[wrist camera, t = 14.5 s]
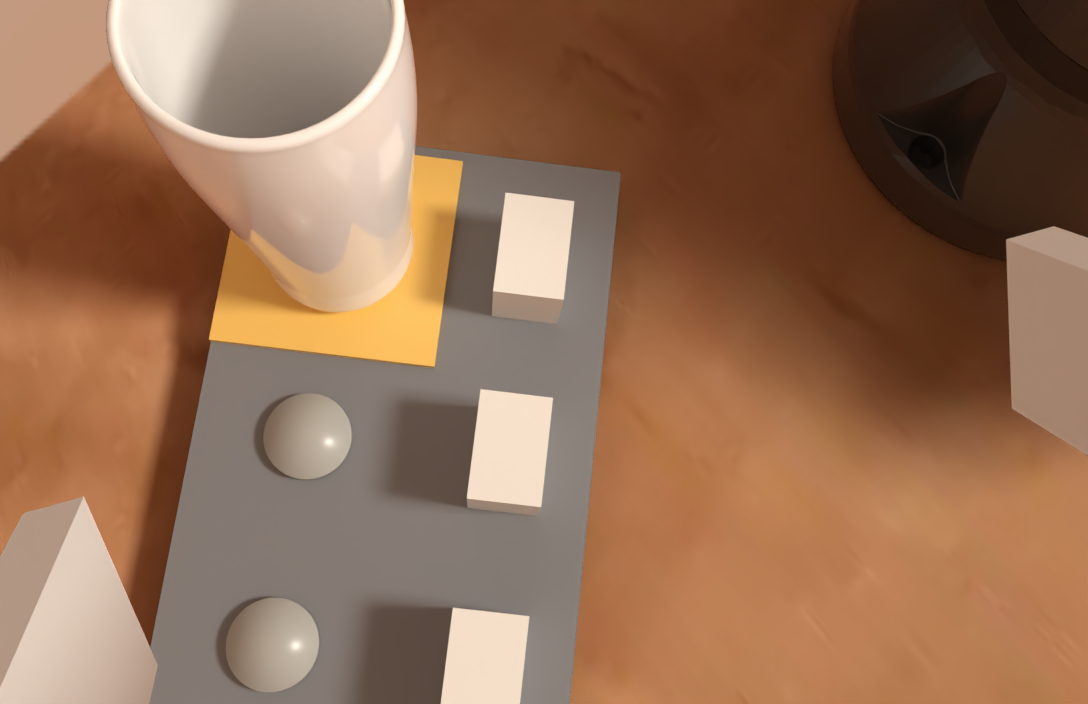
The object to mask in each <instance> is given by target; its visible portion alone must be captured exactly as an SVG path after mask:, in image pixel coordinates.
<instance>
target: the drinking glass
mask: <svg viewBox="0 0 1088 704" xmlns="http://www.w3.org/2000/svg"><path fill="white" fill-rule="evenodd" d="M106 32H107V43H108V47H109V52H110V56H111V59H112V62H113V65H114V68H115V70H116V73H117V75H118V77H119V79H120V81H121V83H122V84H123V86H124V88H125V89H126V91H127V93H128V95H129V97H130V99H131V101H132V102H133V104H134V106H135V108H136V110H137V111H138V113H139V115H140V117H141V118H142V120H143V122H144V123H145V125H146V127H147V128H148V130H149V131H150V133H151V135H152V136H153V138H154V139H155V141H156V143H157V144H158V146H159V147H160V149H161V150H162V151H163V153H164V154H165V156H166V157H167V158H168V160H169V161H170V162H171V164H172V165H173V166H174V168H175V169H176V170H177V171H178V173H179V174H180V175H181V177H182V178H183V179H184V180H185V181H186V183H187V184H188V185H189V186H190V187H191V188H192V189H193V190H194V192H195V193H196V194H197V195H198V196H199V197H200V198H201V199H202V200H203V201H204V202H205V203H206V204H207V205H208V206H209V208H210V209H211V210H212V211H213V212H214V213H215V214H216V215H217V216H218V217H219V218H220V219H221V220H222V221H223V222H224V223H225V224H226V225H227V226H228V227H229V228H230V229H231V230H232V231H233V232H234V233H235V234H236V236H237V237H238V238H239V239H240V240H241V241H242V242H243V243H244V244H245V245H246V246H247V247H248V248H249V249H250V250H251V251H252V252H253V254H254V255H255V256H256V257H257V258H258V259H259V260H260V261H261V262H262V263H263V264H264V266H265V267H266V268H267V269H268V271H269V272H270V274H271V276H272V277H273V279H274V280H275V282H276V283H277V284H278V285H279V287H280V288H281V289H282V290H283V291H284V292H285V293H287V294H288V295H289V296H290V297H291V298H293V299H294V300H296V301H298V302H299V303H301V304H303V305H305V306H307V307H310V308H313V309H316V310H320V311H325V312H338V313H339V312H350V311H355V310H359V309H362V308H365V307H368V306H370V305H372V304H374V303H376V302H378V301H379V300H381V299H382V298H384V297H385V296H387V295H388V294H389V293H390V292H391V291H392V290H393V289H394V288H395V287H396V286H397V285H398V283H399V282H400V281H401V279H402V278H403V276H404V275H405V273H406V271H407V269H408V267H409V264H410V261H411V258H412V254H413V248H414V231H413V224H412V199H413V180H414V164H415V149H416V132H417V84H416V71H415V62H414V54H413V48H412V42H411V36H410V30H409V25H408V20H407V15H406V11H405V6H404V1H403V0H109V1H108V7H107V15H106Z"/></svg>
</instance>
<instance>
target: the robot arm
mask: <svg viewBox="0 0 1088 704" xmlns="http://www.w3.org/2000/svg"><path fill="white" fill-rule="evenodd" d="M833 85H834V94H835V101H836V106H837V110H838V114H839V118H840V121H841V124H842V127H843V130H844V132H845V135H846V137H847V140H848V142H849V144H850V146H851V148H852V150H853V152H854V154H855V156H856V157H857V159H858V161H859V162H860V164H861V166H862V167H863V169H864V170H865V172H866V173H867V174H868V176H869V177H870V179H871V180H872V181H873V182H874V184H875V185H876V186H877V187H878V188H879V190H880V191H881V192H882V193H883V194H884V195H885V196H886V197H887V198H888V199H889V200H890V201H891V202H892V203H893V204H894V205H895V206H896V207H897V208H898V209H899V210H901V211H902V212H903V213H904V214H905V215H907V216H908V217H909V218H910V219H912V220H913V221H915V222H916V223H917V224H919V225H920V226H922V227H923V228H925V229H926V230H928V231H929V232H931V233H933V234H934V235H936V236H938V237H940V238H942V239H944V240H946V241H948V242H950V243H952V244H954V245H956V246H959V247H961V248H964V249H966V250H969V251H972V252H975V253H978V254H981V255H985V256H989V257H993V258H997V259H1003V260H1007V283H1008V313H1009V343H1010V372H1011V402H1012V409H1013V410H1015V411H1016V412H1018V413H1020V414H1021V415H1023V416H1024V417H1026V418H1028V419H1029V420H1031V421H1032V422H1034V423H1036V424H1037V425H1039V426H1040V427H1042V428H1044V429H1045V430H1047V431H1048V432H1050V433H1052V434H1053V435H1055V436H1057V437H1058V438H1060V439H1061V440H1063V441H1065V442H1066V443H1068V444H1069V445H1071V446H1073V447H1074V448H1076V449H1077V450H1079V451H1081V452H1082V453H1084V454H1085V455H1087V456H1088V0H853V2H852V3H851V5H850V7H849V9H848V10H847V13H846V15H845V17H844V19H843V22H842V25H841V27H840V30H839V34H838V37H837V41H836V46H835V52H834V61H833ZM157 667H158V664H157V662H156V660H155V658H154V655H153V653H152V651H151V648H150V646H149V644H148V642H147V639H146V637H145V635H144V633H143V630H142V628H141V626H140V623H139V621H138V619H137V617H136V614H135V612H134V610H133V608H132V605H131V603H130V601H129V598H128V596H127V594H126V592H125V589H124V587H123V585H122V582H121V580H120V578H119V576H118V573H117V571H116V569H115V567H114V564H113V562H112V560H111V557H110V555H109V553H108V551H107V548H106V546H105V544H104V541H103V539H102V537H101V535H100V532H99V530H98V528H97V526H96V523H95V521H94V519H93V516H92V514H91V512H90V510H89V507H88V505H87V503H86V501H85V498H84V497H80V498H77V499H73V500H69V501H66V502H62V503H59V504H55V505H52V506H48V507H44V508H41V509H37V510H34V511H30V512H26V513H23V515H22V516H21V518H20V520H19V522H18V524H17V526H16V528H15V530H14V531H13V533H12V535H11V537H10V539H9V541H8V543H7V545H6V546H5V548H4V550H3V552H2V554H1V556H0V704H149V703H150V698H151V694H152V689H153V685H154V680H155V676H156V671H157Z"/></svg>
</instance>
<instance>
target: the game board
mask: <svg viewBox="0 0 1088 704" xmlns="http://www.w3.org/2000/svg"><path fill="white" fill-rule="evenodd" d="M620 177H621V172H614V171H606V170H598V169H590V168H583V167H575V166H567V165H559V164H551V163H543V162H536V161H528V160H520V159H512V158H504V157H496V156H489V155H481V154H473V153H465V152H457V151H449V150H441V149H434V148H426V147H418V146H416V149H415V164H414V180H413V199H412V224H413V231H414V248H413V254H412V258H411V261H410V264H409V267H408V269H407V271H406V273H405V275H404V276H403V278H402V279H401V281H400V282H399V283H398V285H397V286H396V287H395V288H394V289H393V290H392V291H391V292H390V293H389V294H388V295H387V296H385V297H384V298H382V299H381V300H379V301H378V302H376V303H374V304H372V305H370V306H368V307H365V308H362V309H359V310H355V311H350V312H339V313H338V312H325V311H320V310H316V309H313V308H310V307H307V306H305V305H303V304H301V303H299V302H298V301H296V300H294V299H293V298H291V297H290V296H289V295H288V294H287V293H285V292H284V291H283V290H282V289H281V288H280V287H279V285H278V284H277V283H276V282H275V280H274V279H273V277H272V276H271V274H270V272H269V271H268V269H267V268H266V267H265V266H264V264H263V263H262V262H261V261H260V260H259V259H258V258H257V257H256V256H255V255H254V254H253V252H252V251H251V250H250V249H249V248H248V247H247V246H246V245H245V244H244V243H243V242H242V241H241V240H240V239H239V238H238V237H237V236H236V234H235V233H234V232H233V231H232V230H230V235H229V240H228V245H227V250H226V255H225V260H224V265H223V270H222V275H221V280H220V285H219V290H218V295H217V300H216V305H215V310H214V315H213V320H212V325H211V330H210V336H209V340H210V341H211V343H210V348H209V353H208V359H207V364H206V369H205V374H204V379H203V384H202V389H201V394H200V399H199V404H198V409H197V414H196V419H195V424H194V429H193V434H192V439H191V444H190V449H189V454H188V459H187V464H186V470H185V475H184V480H183V485H182V490H181V495H180V500H179V505H178V510H177V515H176V520H175V525H174V530H173V535H172V540H171V545H170V550H169V555H168V560H167V565H166V570H165V575H164V581H163V586H162V591H161V596H160V601H159V606H158V611H157V616H156V621H155V626H154V631H153V636H152V641H151V646H150V648H151V651H152V653H153V655H154V658H155V660H156V662H157V664H158V667H157V671H156V676H155V680H154V685H153V689H152V694H151V698H150V703H149V704H570V694H571V684H572V674H573V663H574V653H575V643H576V632H577V622H578V612H579V601H580V591H581V580H582V570H583V560H584V549H585V539H586V529H587V518H588V508H589V498H590V487H591V477H592V467H593V456H594V446H595V436H596V425H597V415H598V405H599V394H600V384H601V374H602V363H603V353H604V343H605V332H606V322H607V312H608V301H609V291H610V281H611V270H612V260H613V249H614V239H615V229H616V218H617V208H618V198H619V187H620Z"/></svg>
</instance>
